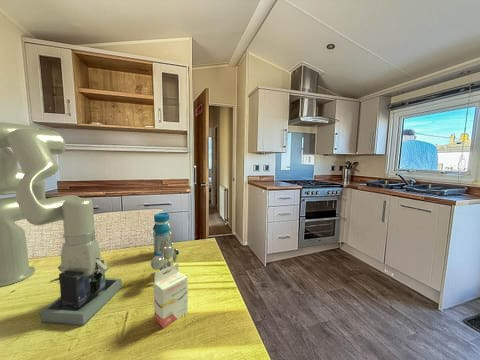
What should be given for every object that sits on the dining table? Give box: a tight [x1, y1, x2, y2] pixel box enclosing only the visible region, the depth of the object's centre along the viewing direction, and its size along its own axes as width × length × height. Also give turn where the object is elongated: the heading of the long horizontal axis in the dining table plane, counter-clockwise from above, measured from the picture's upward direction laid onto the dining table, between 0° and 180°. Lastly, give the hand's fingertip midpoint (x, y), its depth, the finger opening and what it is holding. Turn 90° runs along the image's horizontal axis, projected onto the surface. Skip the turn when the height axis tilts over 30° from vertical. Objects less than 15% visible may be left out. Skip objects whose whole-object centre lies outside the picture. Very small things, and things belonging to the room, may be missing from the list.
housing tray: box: [39, 277, 123, 327], centre depth 67 cm, size 13×17×4 cm
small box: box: [58, 259, 106, 309], centre depth 67 cm, size 11×6×10 cm, turn 169°
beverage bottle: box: [152, 212, 172, 257], centre depth 100 cm, size 8×8×20 cm
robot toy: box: [150, 238, 180, 275], centre depth 81 cm, size 15×6×15 cm, turn 165°
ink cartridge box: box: [153, 262, 189, 329], centre depth 62 cm, size 9×5×15 cm, turn 141°
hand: (84, 290), depth 67 cm, fingers closed on small box, 6 cm apart
